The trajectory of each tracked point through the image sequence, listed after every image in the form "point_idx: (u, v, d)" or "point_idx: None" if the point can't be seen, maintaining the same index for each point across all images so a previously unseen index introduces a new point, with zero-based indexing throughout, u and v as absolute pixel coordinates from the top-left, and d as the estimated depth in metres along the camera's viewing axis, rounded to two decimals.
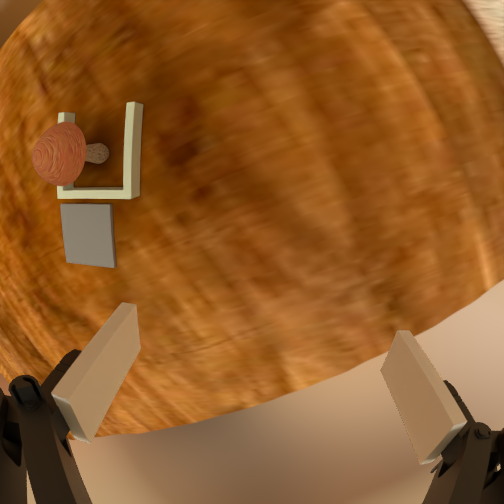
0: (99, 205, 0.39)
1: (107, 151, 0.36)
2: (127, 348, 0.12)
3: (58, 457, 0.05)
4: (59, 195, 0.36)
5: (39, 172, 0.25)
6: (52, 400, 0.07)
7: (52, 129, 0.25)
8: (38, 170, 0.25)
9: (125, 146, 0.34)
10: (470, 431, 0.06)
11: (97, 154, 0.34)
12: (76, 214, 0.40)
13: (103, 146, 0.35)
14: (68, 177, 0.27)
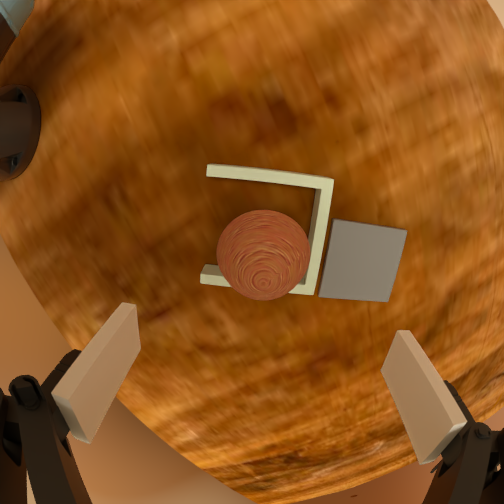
0: (332, 235, 0.33)
1: None
2: (127, 348, 0.12)
3: (58, 457, 0.05)
4: (310, 291, 0.33)
5: (286, 283, 0.22)
6: (52, 400, 0.07)
7: (225, 259, 0.23)
8: (284, 284, 0.21)
9: (265, 179, 0.29)
10: (470, 431, 0.06)
11: None
12: (336, 273, 0.35)
13: None
14: (302, 240, 0.23)
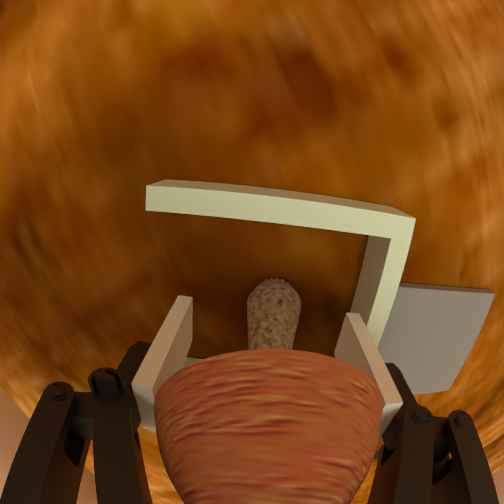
0: (391, 313, 0.17)
1: (273, 281, 0.17)
2: (185, 338, 0.14)
3: (132, 454, 0.06)
4: None
5: None
6: (127, 391, 0.09)
7: (167, 472, 0.06)
8: None
9: (273, 218, 0.13)
10: (406, 416, 0.08)
11: (279, 308, 0.14)
12: None
13: (258, 290, 0.16)
14: (375, 423, 0.07)
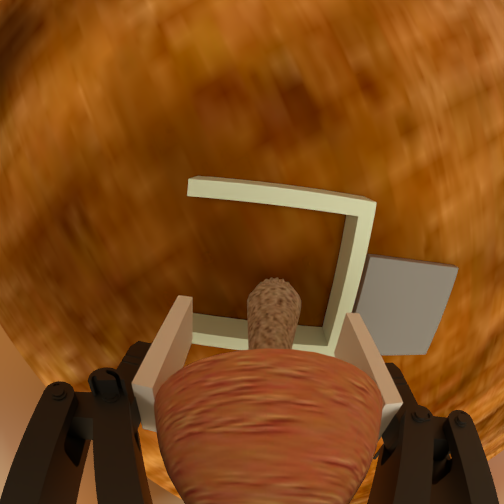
0: (366, 277, 0.23)
1: (273, 281, 0.17)
2: (185, 338, 0.14)
3: (132, 453, 0.06)
4: (333, 353, 0.23)
5: None
6: (127, 391, 0.09)
7: (168, 471, 0.06)
8: None
9: (275, 202, 0.20)
10: (406, 416, 0.08)
11: (279, 307, 0.14)
12: (368, 325, 0.25)
13: (258, 290, 0.16)
14: (375, 423, 0.07)
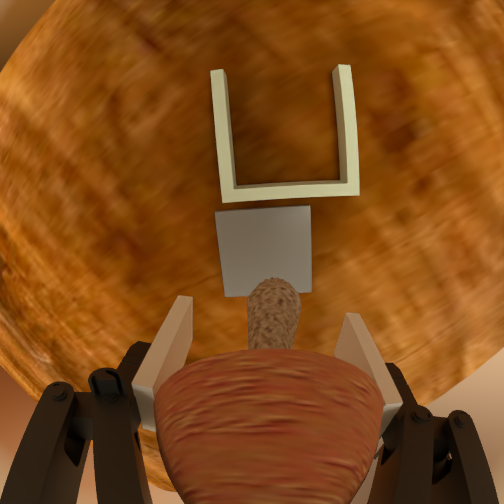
0: (292, 208, 0.30)
1: (274, 281, 0.17)
2: (185, 338, 0.14)
3: (132, 453, 0.06)
4: (226, 197, 0.28)
5: None
6: (127, 391, 0.09)
7: (167, 471, 0.06)
8: None
9: (346, 123, 0.25)
10: (406, 416, 0.08)
11: (280, 307, 0.14)
12: (248, 225, 0.31)
13: (259, 290, 0.16)
14: (375, 423, 0.07)
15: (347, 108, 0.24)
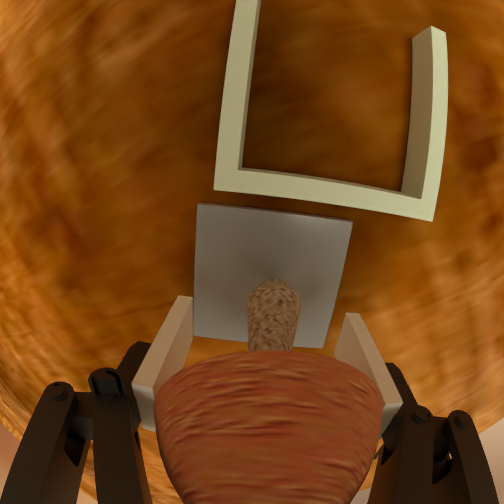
0: (324, 220, 0.18)
1: (274, 282, 0.17)
2: (185, 338, 0.14)
3: (132, 453, 0.06)
4: (222, 182, 0.15)
5: None
6: (127, 391, 0.09)
7: (167, 472, 0.06)
8: None
9: (434, 107, 0.13)
10: (406, 416, 0.08)
11: (279, 308, 0.14)
12: (248, 234, 0.19)
13: (258, 291, 0.16)
14: (375, 424, 0.07)
15: (438, 87, 0.13)
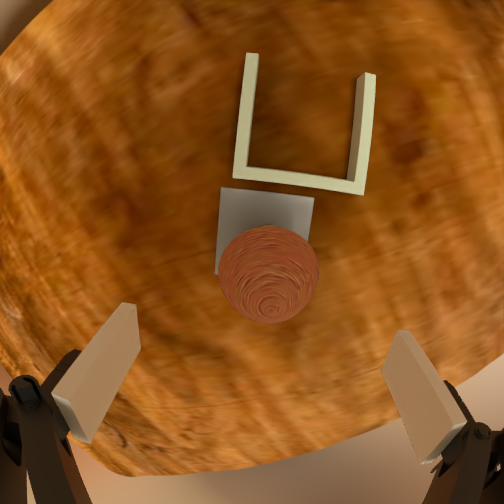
0: (296, 197, 0.31)
1: (268, 225, 0.31)
2: (127, 348, 0.12)
3: (58, 457, 0.05)
4: (237, 173, 0.28)
5: (295, 308, 0.20)
6: (52, 400, 0.07)
7: (228, 282, 0.21)
8: (292, 309, 0.19)
9: (363, 126, 0.26)
10: (470, 431, 0.06)
11: None
12: (251, 205, 0.31)
13: None
14: (311, 260, 0.21)
15: (366, 113, 0.25)
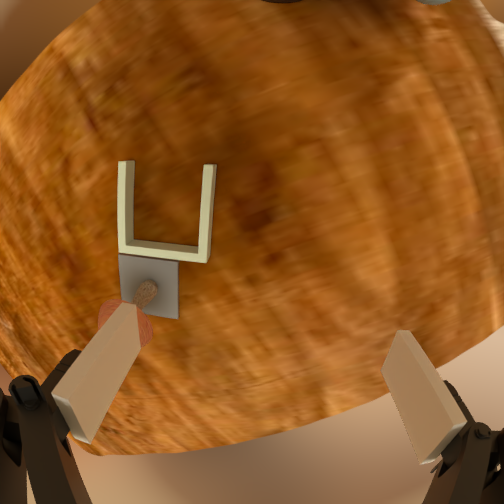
0: (165, 261, 0.43)
1: (147, 281, 0.43)
2: (127, 348, 0.12)
3: (58, 457, 0.05)
4: (121, 249, 0.40)
5: None
6: (52, 400, 0.07)
7: None
8: None
9: (201, 211, 0.38)
10: (470, 431, 0.06)
11: (143, 291, 0.40)
12: (137, 267, 0.43)
13: (141, 284, 0.42)
14: (139, 320, 0.33)
15: (204, 200, 0.37)
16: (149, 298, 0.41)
